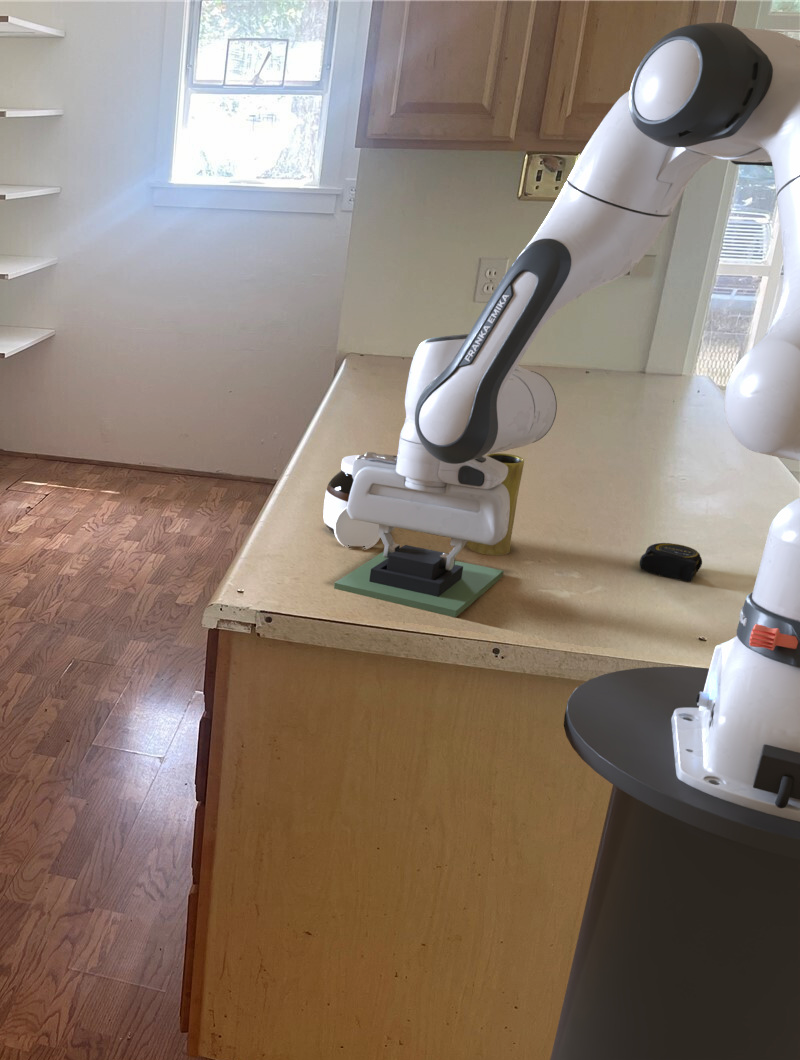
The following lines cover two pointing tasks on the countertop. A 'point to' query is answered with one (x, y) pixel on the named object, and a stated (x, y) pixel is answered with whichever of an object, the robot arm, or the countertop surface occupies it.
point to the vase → (512, 486)
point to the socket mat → (421, 586)
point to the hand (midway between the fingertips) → (418, 563)
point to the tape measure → (671, 561)
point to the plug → (416, 562)
